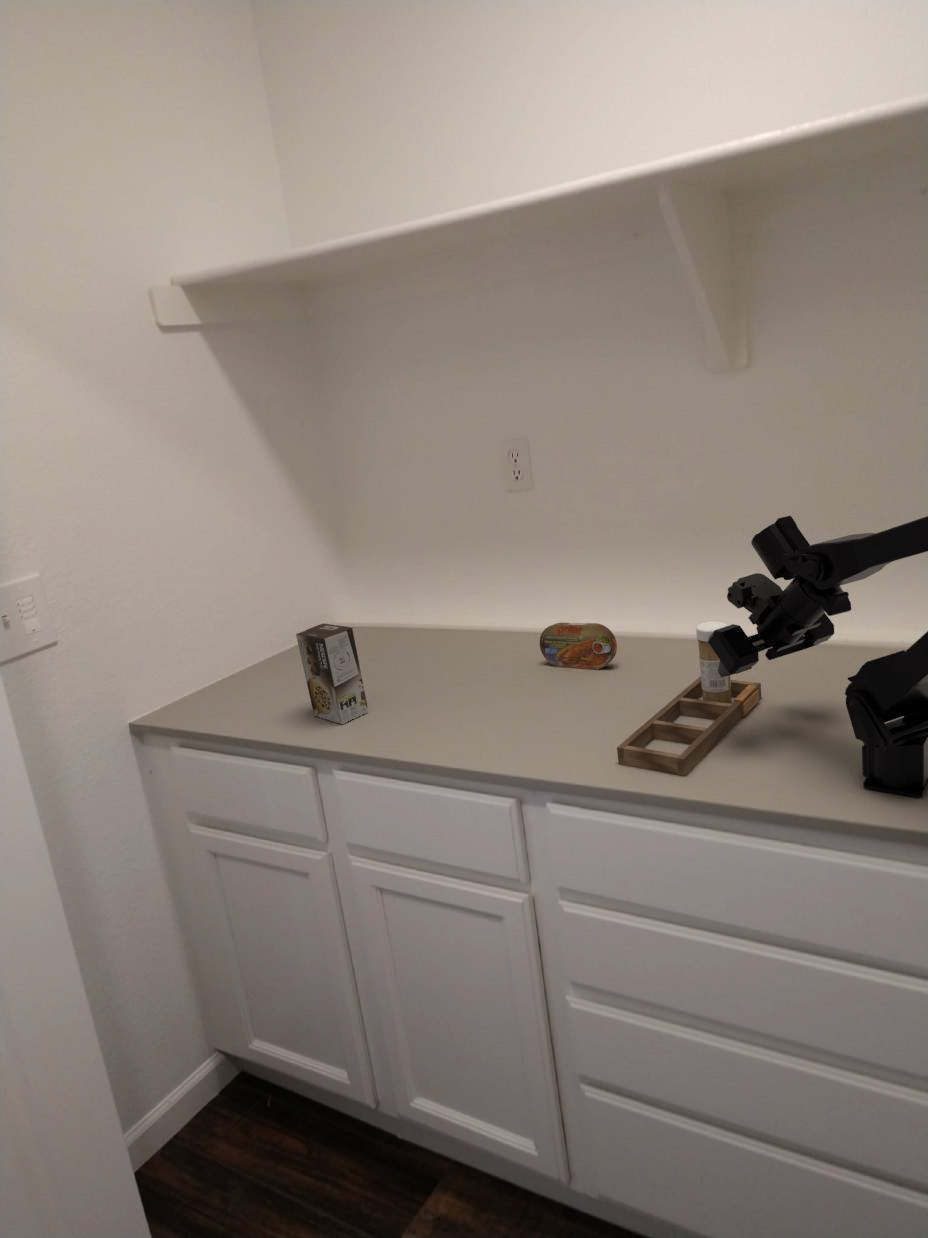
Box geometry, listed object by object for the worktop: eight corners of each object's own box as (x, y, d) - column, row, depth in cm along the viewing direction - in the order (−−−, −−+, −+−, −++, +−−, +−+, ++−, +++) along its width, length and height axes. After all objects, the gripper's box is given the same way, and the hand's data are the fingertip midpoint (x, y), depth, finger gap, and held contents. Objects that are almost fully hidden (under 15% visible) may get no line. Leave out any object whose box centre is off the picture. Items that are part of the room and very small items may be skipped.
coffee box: (370, 712, 153) (354, 627, 148) (341, 725, 148) (324, 638, 144) (340, 703, 159) (323, 621, 155) (312, 716, 155) (294, 632, 151)
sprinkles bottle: (735, 701, 133) (729, 620, 130) (729, 713, 129) (724, 630, 126) (705, 700, 135) (699, 620, 132) (699, 712, 132) (692, 630, 128)
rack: (764, 698, 133) (763, 681, 132) (688, 776, 113) (686, 757, 112) (700, 690, 140) (699, 674, 139) (618, 763, 119) (616, 745, 118)
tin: (541, 666, 163) (536, 624, 160) (549, 660, 165) (543, 619, 163) (614, 671, 154) (609, 627, 152) (621, 665, 157) (616, 621, 154)
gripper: (814, 544, 120) (760, 607, 132) (712, 574, 112) (665, 637, 125) (863, 606, 115) (802, 665, 127) (760, 642, 107) (706, 701, 120)
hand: (744, 665), depth 125 cm, fingers open, 9 cm apart
